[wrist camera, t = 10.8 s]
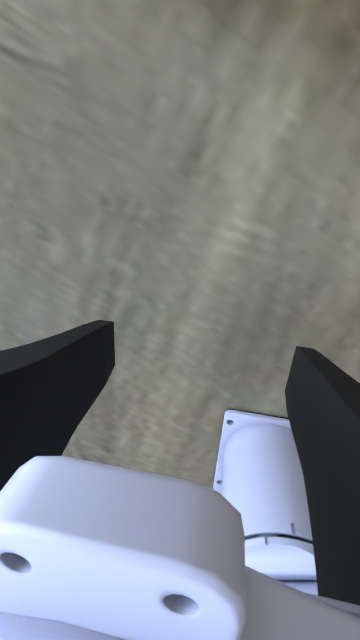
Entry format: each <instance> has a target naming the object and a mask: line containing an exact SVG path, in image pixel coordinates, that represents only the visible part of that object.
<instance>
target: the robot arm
mask: <svg viewBox="0 0 360 640" xmlns="http://www.w3.org/2000/svg"><path fill="white" fill-rule="evenodd" d="M114 366H115V349H114V322H111V321H104V320H97V321H93V322H90V323H87V324H84V325H81V326H79V327H76V328H73V329H71V330H68V331H65V332H63V333H60V334H57V335H54V336H51V337H48V338H45V339H42V340H40V341H37V342H33V343H30V344H26V345H23V346H19V347H15V348H11V349H7V350H2V351H0V640H360V383H358V382H357V381H356V380H354V379H353V378H352V377H350V376H349V375H348V374H346V373H345V372H344V371H342V370H341V369H340V368H339V367H337V366H336V365H335V364H334V363H332V362H331V361H330V360H328V359H327V358H326V357H325V356H323V355H322V354H321V353H319V352H318V351H316V350H315V349H312V348H305V347H298V346H296V350H295V353H294V357H293V361H292V365H291V369H290V373H289V377H288V381H287V385H286V388H285V396H286V406H287V414H288V418H289V419H284V418H278V417H272V416H266V415H260V414H254V413H248V412H241V411H235V410H227V411H226V412H225V415H224V422H223V428H222V434H221V440H220V447H219V453H218V459H217V465H216V471H215V478H214V484H213V489H210V488H208V487H205V486H203V485H200V484H198V483H195V482H193V481H189V480H184V479H179V478H174V477H169V476H164V475H159V474H154V473H149V472H144V471H139V470H134V469H129V468H124V467H119V466H114V465H109V464H104V463H99V462H94V461H89V460H84V459H79V458H74V457H69V456H61V455H62V453H63V451H64V449H65V447H66V446H67V444H68V442H69V440H70V438H71V436H72V434H73V433H74V431H75V430H76V428H77V426H78V425H79V423H80V422H81V420H82V419H83V417H84V416H85V414H86V413H87V411H88V410H89V409H90V407H91V406H92V404H93V403H94V401H95V400H96V398H97V397H98V395H99V394H100V392H101V391H102V389H103V388H104V386H105V385H106V383H107V381H108V379H109V377H110V375H111V372H112V370H113V368H114ZM228 420H232V422H229V421H228ZM220 480H221V481H220ZM221 494H222V495H221Z"/></svg>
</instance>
